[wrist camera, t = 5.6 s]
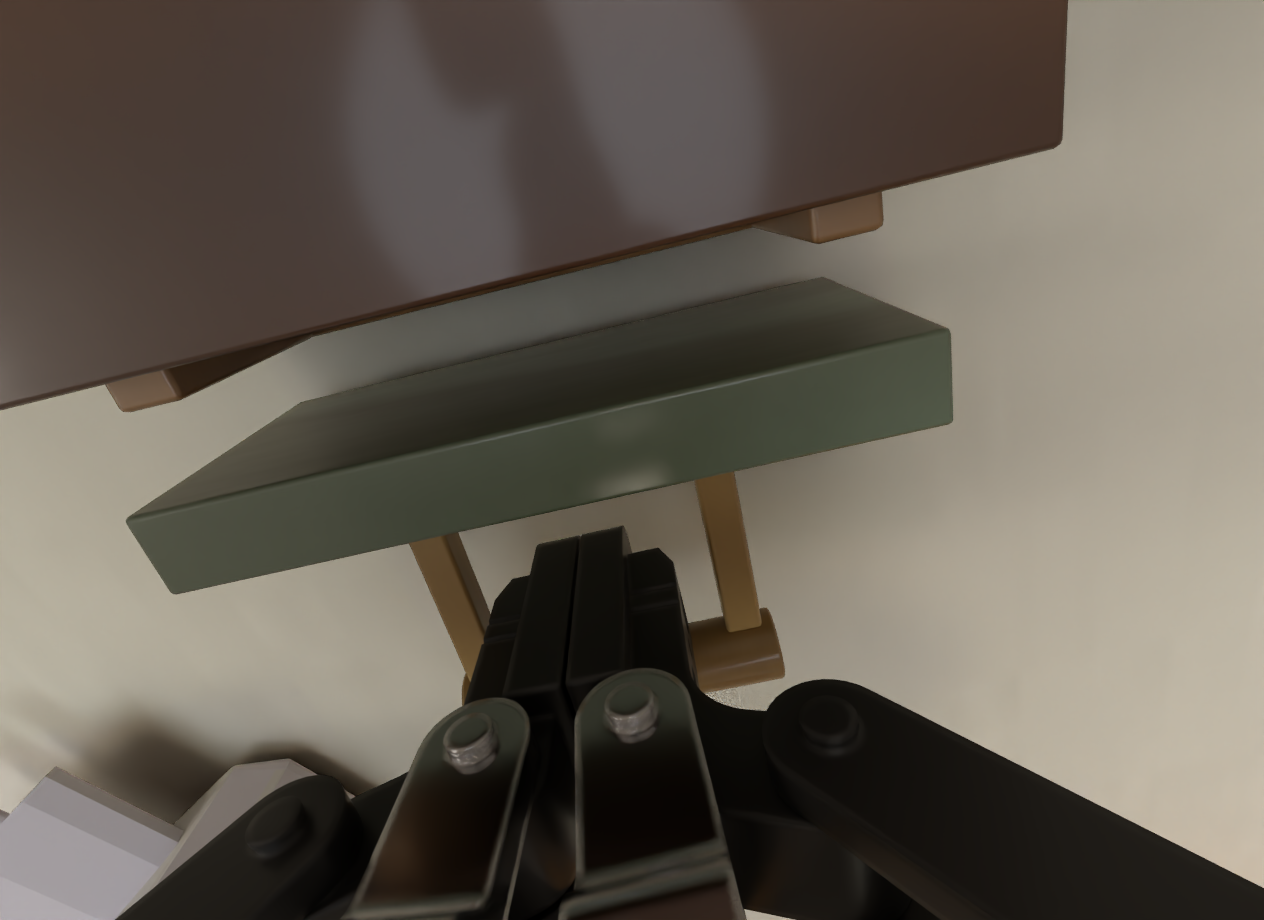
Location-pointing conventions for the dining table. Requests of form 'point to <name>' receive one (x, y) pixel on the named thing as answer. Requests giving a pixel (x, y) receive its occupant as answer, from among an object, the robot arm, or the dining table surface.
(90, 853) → the charger
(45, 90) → the cabinet
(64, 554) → the dining table surface
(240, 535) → the drawer
